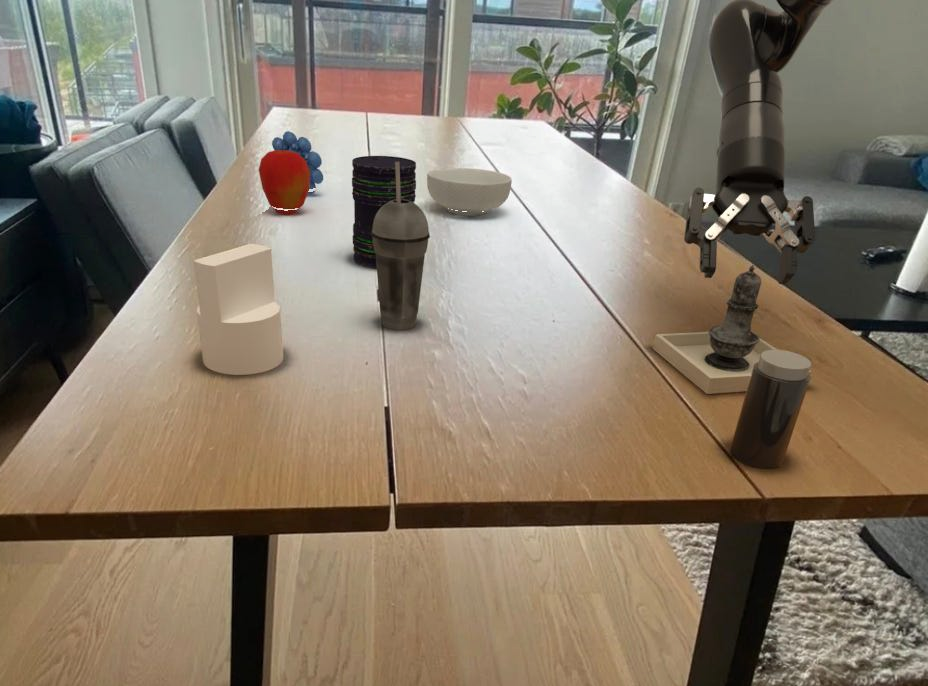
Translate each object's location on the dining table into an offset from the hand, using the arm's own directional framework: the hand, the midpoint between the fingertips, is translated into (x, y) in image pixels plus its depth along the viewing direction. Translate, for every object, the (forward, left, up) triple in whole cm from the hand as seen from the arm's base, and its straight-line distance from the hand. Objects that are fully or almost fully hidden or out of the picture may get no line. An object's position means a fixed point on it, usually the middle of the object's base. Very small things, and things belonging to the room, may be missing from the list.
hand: (747, 278), depth 88 cm
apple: (+47, -78, -11) cm, 92 cm away
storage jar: (+34, -46, -11) cm, 59 cm away
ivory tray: (0, +1, -11) cm, 11 cm away
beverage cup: (+37, -18, -11) cm, 43 cm away
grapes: (+44, -93, -11) cm, 104 cm away
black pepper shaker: (+9, +21, -11) cm, 25 cm away
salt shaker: (0, 0, -11) cm, 11 cm away
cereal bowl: (+11, -78, -11) cm, 80 cm away
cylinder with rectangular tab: (+57, -9, -11) cm, 59 cm away
